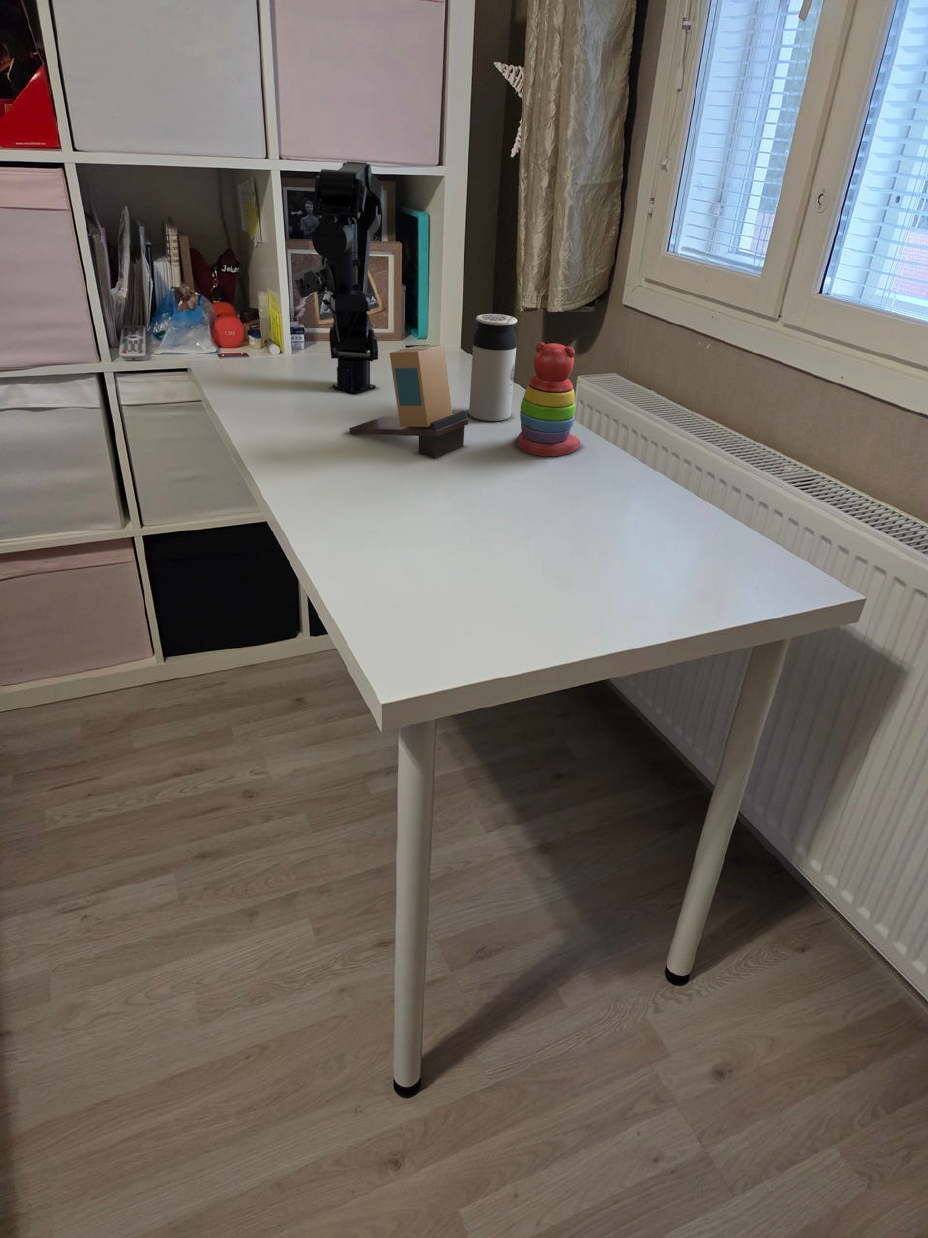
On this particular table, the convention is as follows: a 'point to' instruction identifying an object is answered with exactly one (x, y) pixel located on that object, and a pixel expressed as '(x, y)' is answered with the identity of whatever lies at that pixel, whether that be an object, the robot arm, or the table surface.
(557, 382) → the stacking bear
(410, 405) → the carton
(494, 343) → the travel mug
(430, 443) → the ramp
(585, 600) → the table surface
